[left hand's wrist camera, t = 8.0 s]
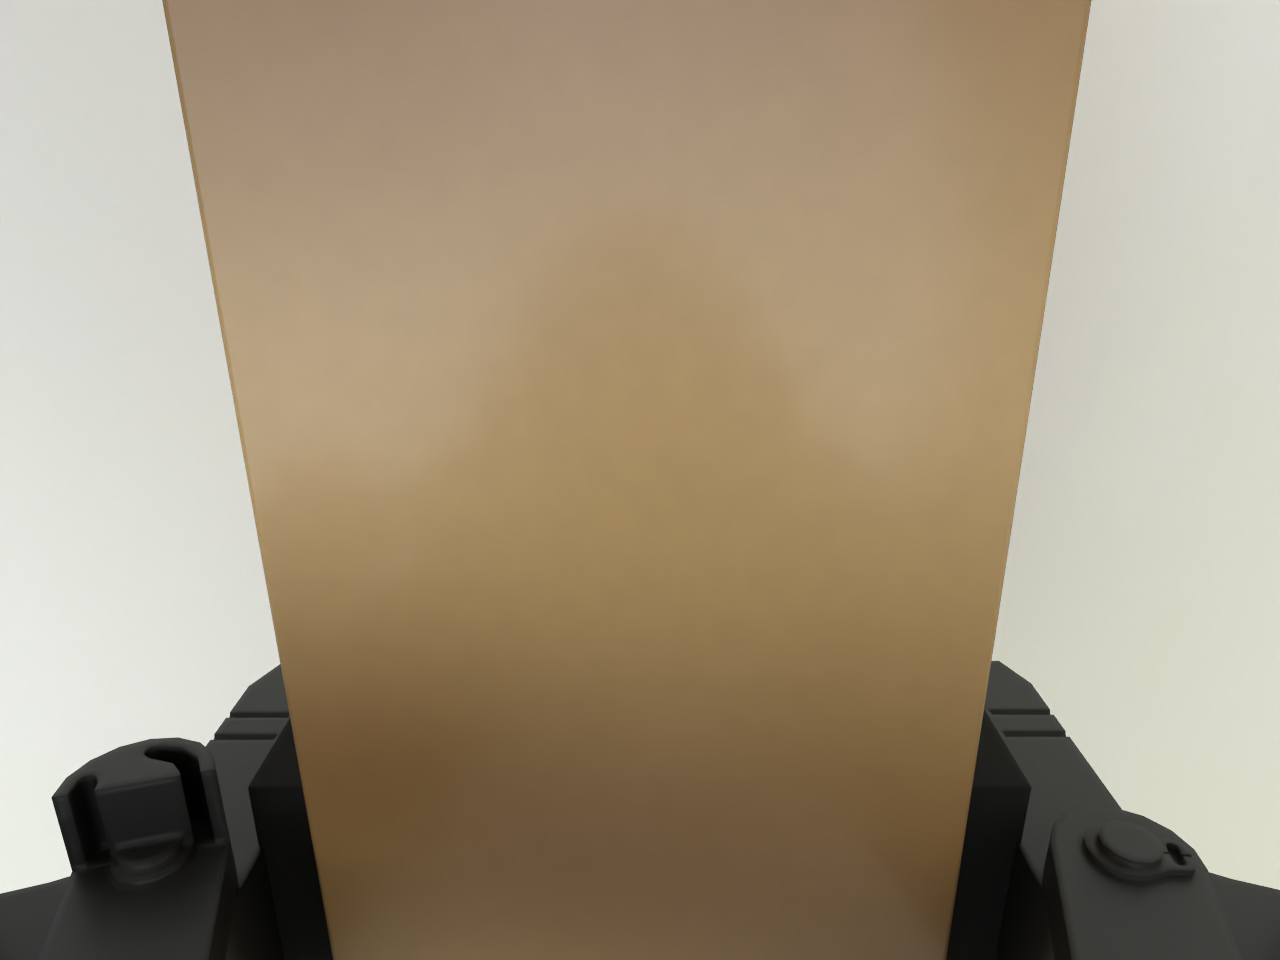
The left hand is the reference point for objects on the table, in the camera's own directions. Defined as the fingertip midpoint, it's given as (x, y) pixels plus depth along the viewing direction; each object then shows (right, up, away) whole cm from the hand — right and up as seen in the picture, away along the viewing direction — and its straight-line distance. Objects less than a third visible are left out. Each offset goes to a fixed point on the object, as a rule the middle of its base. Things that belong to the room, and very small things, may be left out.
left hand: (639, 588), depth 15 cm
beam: (0, +22, -8) cm, 23 cm away
